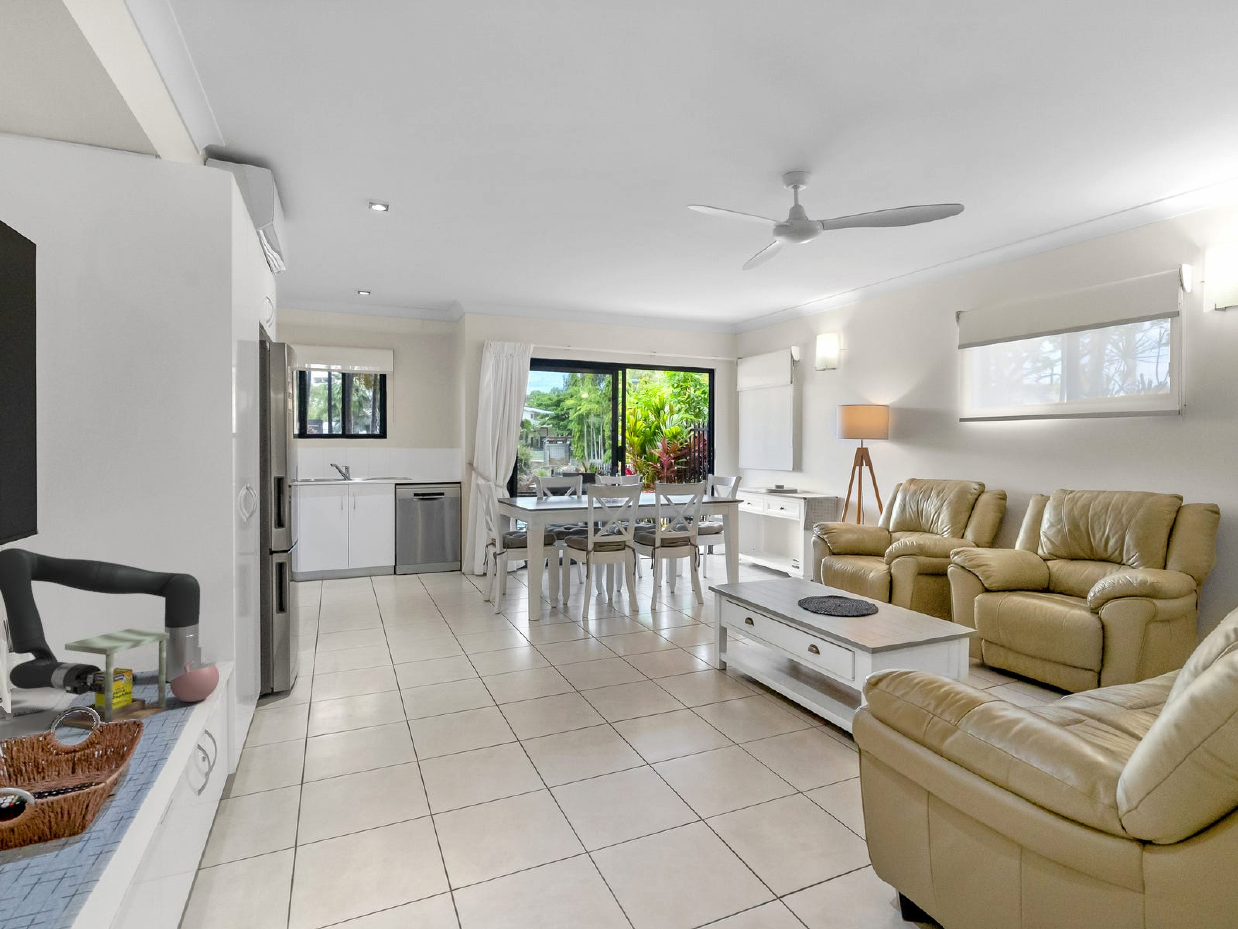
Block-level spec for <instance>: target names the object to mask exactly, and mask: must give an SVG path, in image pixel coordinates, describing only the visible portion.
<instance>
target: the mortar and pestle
mask: <svg viewBox="0 0 1238 929" xmlns="http://www.w3.org/2000/svg"><path fill="white" fill-rule="evenodd" d="M193 663H194V661H191V662H190V663H189V664H187V665H185V666H184V670H185V674H182V675H180V676H178V677H176V678H174V679H172V680H171V681H170V682H169V687H170V691H171V693H172V694H173V696H174V697H175V698H177V699H178V700H180V701H182V702H186V703H195V702H199V701H203V700H205V699H206V698H208V697H209V696H210V695H211V694H213V693H214V691H215V690H216V689H217V687H218V684H219V681H220V673H219V672H220V671H219V670H218V667H217V666H216V665H208V666H203V667H201V668H198V669H196V670H194V671H191V672H190V671H189V668H190V667H191V666H192V665H193Z"/></svg>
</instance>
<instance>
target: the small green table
mask: <svg viewBox="0 0 1238 929" xmlns="http://www.w3.org/2000/svg"><path fill="white" fill-rule="evenodd" d="M166 639H169V633H165V632H161V631H152V630H145V629H136V628H135V629H134V628H127V629H123V630H119V631H114V632H110V633H106V634H101V635H98V636H97V635H96V636H93V637H89V638H85V639H81V640H76V641H73V642H71V641H70V642H68V643H65V644H64V650H66V651H73V652H81V653H88V654H95V655H103V656H105V670H104V671H105V710H102V709H96V708H95V703H91V704H88V705H86V707H89V708H92V709H93V710H95V711H96V712H97V713H98V715H99V716H100V721H101V722H105V723H109V722H120V721H124V720H130V719H141V720H144V719H146V718H148V717H147V716H149V715H152V716H154V715H157V714H159V712H160V713H162V712H165V711H167V706H166V681H165V675H166ZM157 642H158V680H157V681H158V684H157V685H158V687H157V688H158V693H157V694H158V695H157V704H152V703H146V699H144V698H137V697H132V703H130V704H127V705H124V706H122V707H119V708H116V709H113V670H114V657H115V656H114V654H116V653H119V652H124V651H127V650H131V649H134V648H138V647H142V646H145V645H146V646H147V645H150V644H155V643H157ZM156 713H157V714H156ZM145 717H146V718H145ZM149 717H150V716H149ZM94 722H95V721H94V719H93V716H92V715H89V713H87V712H81V711H80V714H79V715H76V716H73V717H70V718H67V719H63V720H62V725H64V724H65V726H71V727H75V726H78V727H77V728H82V729H87V730H92V727H93V726H94Z"/></svg>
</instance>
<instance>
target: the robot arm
mask: <svg viewBox="0 0 1238 929" xmlns="http://www.w3.org/2000/svg"><path fill="white" fill-rule="evenodd" d="M32 582H44V583H45V582H46V583H52V584H57V585H61V586H65V587H68V588H71V589H76V590H81V591H86V592H92V593H101V594H108V595H111V594H112V595H133V594H137V595H139V594H141V595H142V594H143V595H150V596H151V595H152V596H156V597H161V598H164V633H169V639H166V675H165V682H166V681H168V682H167V683H170V681H171V680H172V679H174V678H176V677H178V676H180V675H182V674H185V670H184V666H185V665H187V664H189V663H190V662H191V661H194V663H193V665H192V666H191V667H190V668H189V671H190V672H191V671H194V670H196V669H198V668H202V645H201V644H199V642H200V640H199V638H200V637H199V636H200V634H199V632H200V615H201V614H200V610H201V609H200V608H201V607H200V606H201V585H200V583H199V581H198V579H197V578H196V577H195V576H193V575H191V574H189V573H181V572H179V573H178V572H177V573H176V572H163V571H154V570H149V569H143V568H139V567H135V566H130V565H126V564H120V563H115V562H107V561H102V560H93V559H83V558H82V559H80V558H79V559H78V558H64V557H63V558H61V557H54V556H50V555H47V554H40V553H38V552H34V551H29V550H26V549H23V548H16V547H15V548H14V547H12V548H6V549H3V550H0V594H1V596H2V600H3V604H4V607H5V613H6V620H7V624H8V625H7V626H8V631H9V636H10V641H11V646H12V649H13V652H14V653H15V654H18V655H19V654H22V655H23V654H31V655H32V656H33V657H34V659H31V660H28V661H24V662H21V663H19V664H17V665H15V666H14V667H13V668H12V669H11V670H10V673H9V681H10V683H11V684H12V685H13V686H14V687H16V688H19V689H24V690H32V689H42V688H51V689H58V690H60V691H64V692H65V693H67V694H72V695H76V696H77V695H78V696H81V695H84V694H91V693H95V692H96V693H103V692H104V691H105V685H104V684H99V683H96V675H98V674H103V673H105V671H106V670H102V669H101V668H100V667H99V666H97V665H94V664H88V663H87V664H86V663H79V662H65V661H64V662H63V661H58V659H57V657H56V656H55V654H54V653H53V651H52V650H51V647H50V646H49V644H48V643H47V641H46V636H45V632H44V628H43V626H44V625H43V622H42V619H41V615H40V613H39V610H38V607H37V604H36V601H35V598H34V592H33V587H32ZM115 669H122V670H130V671H134V670H133V669H129V668H119V667H116V668H113V670H115ZM137 678H138V677H137V674H136V673H133V675H132V684H134V683H136V682H137V680H138V679H137Z"/></svg>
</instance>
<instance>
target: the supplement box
mask: <svg viewBox="0 0 1238 929" xmlns="http://www.w3.org/2000/svg"><path fill="white" fill-rule="evenodd" d="M114 669H115V668H114ZM114 669H113V709H116V708H119V707H122V706H124V705H127V704H130V703H132V698H133V683H132V675H133V674H134V673H133V671H134V670H133V671H130V670H122V669H123V668H122V669H115V670H114ZM96 683H99V684H104V685H105V673H103V674H98V675H96ZM94 694H95V696H94V704H95V708H96V709H102V710H105V691H104V692H103V693H96V692H94Z"/></svg>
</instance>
